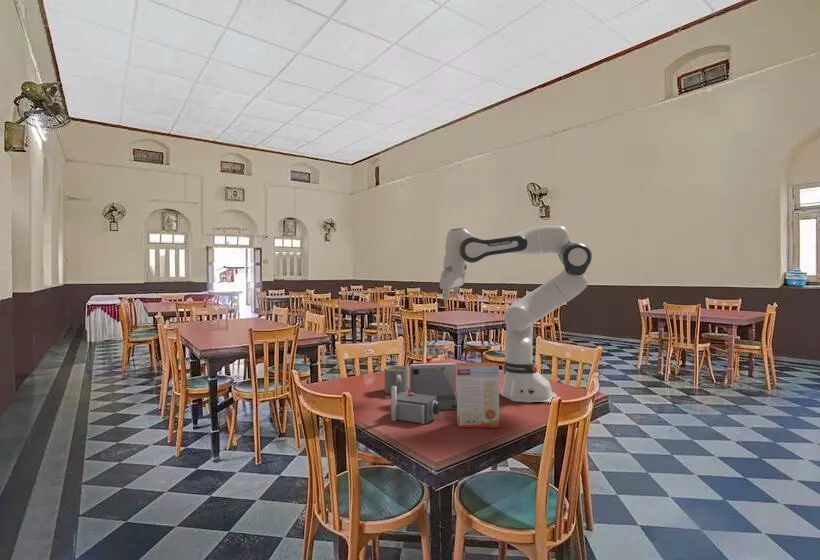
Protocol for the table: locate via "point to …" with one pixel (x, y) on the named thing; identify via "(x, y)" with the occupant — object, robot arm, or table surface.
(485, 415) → the cracker box
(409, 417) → the side door
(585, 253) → the robot arm
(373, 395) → the table surface
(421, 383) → the instant camera
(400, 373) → the coffee mug
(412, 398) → the camera box
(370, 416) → the table surface
